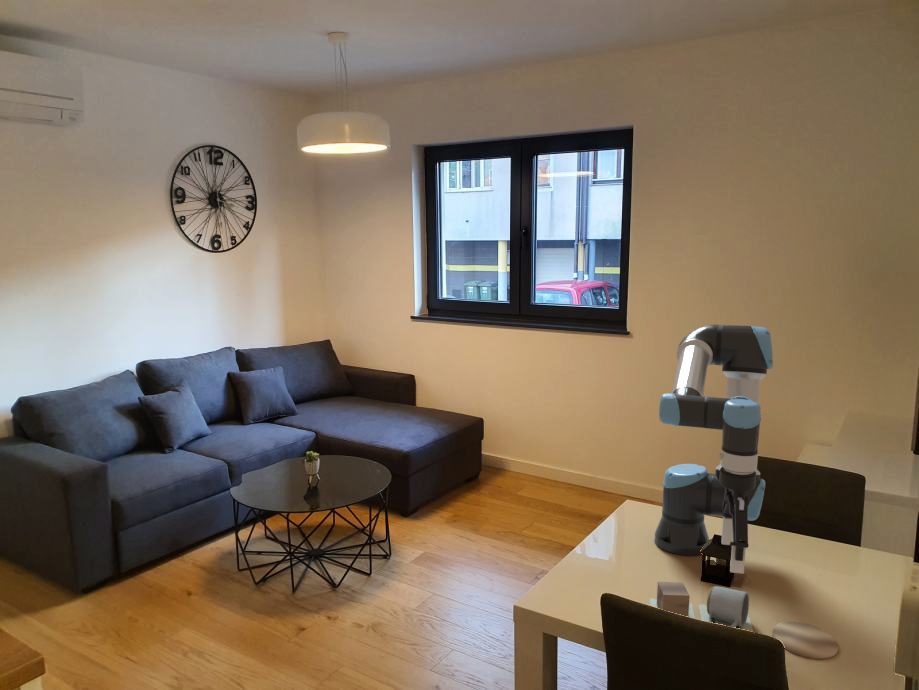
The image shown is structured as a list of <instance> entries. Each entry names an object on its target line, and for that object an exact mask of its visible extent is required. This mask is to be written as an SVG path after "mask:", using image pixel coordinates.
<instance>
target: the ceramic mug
mask: <svg viewBox="0 0 919 690" xmlns="http://www.w3.org/2000/svg"><path fill="white" fill-rule="evenodd" d="M706 605H707V612H708V614H709V622H711V623H712V621H711V619H712V617H713V618H716V619H719V620H722V621H725V622H728V623H730V624H732V625H731V626H729V627H736V626H739V627H743V626H744V625H745V623H746V620H747V616H749V609H750V608H749V606H750V596H749V593H748V592H747V591H744V590H743V591H741V590H737V589H734V588H728V587H724V586H717V585H716V586H712V587H711V588H710V589H709V591H708V594H707V599H706Z"/></svg>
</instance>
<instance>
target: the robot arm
mask: <svg viewBox="0 0 919 690" xmlns="http://www.w3.org/2000/svg"><path fill="white" fill-rule="evenodd" d="M773 357H774V355H773V344H772V335H771V332H770V330H769V328H767V327H765V326H754V325H734V324H733V325H731V324H729V325H728V324H726V325H725V324H715V323H714V324H713V323H712V324H707V325H702V326H700V327H698V328H695V329H694V330H692V331H691V332H689V333H688V334H686V336H685V337H683V338H682V340H681V341H680V342H679V344H678V347H677V349H676V359H677V361H678V363H677V368H676V371H675V372H676V373H675V376H674V381H673V386H672V389H671V393H668V392H667V393H663V394H661V396H660V399H659V409H658V411H659V413H658V417H659V418H658V419H659V421H660V423H662V424H666V425H672V426H675V427H678V426H679V427H688V428H689V427H690V428H691V427H692V428H700V429H701V428H702V429H707V430H708V429H709V430H719V431H722V432H721V433H722V434H721V435H722V436H721V440H722V441H721V452H720V453H718V456H717V457H718V458H720V463H719V464H718V465H717V466H715V473H711V472H708V469H707V468H706V467H705V466H703V465H700V464H697V463H696V464H695V463H680V464H675V465H673V466H669V468H667V469H666V470H665V472H664V476H663V482H662V487H663V489H662V491H663V492H662V494H663V495H662V506H661V507H662V509H661V511H662V512H661V518H660V519H659V523H658V525H657V527H656V530H655V533H654V543H655V545H656V546H657V547H659V548H660V549H662V550H663V551H665V552H668V553H671V554H675V555H681V556H690V557H691V556H699V555H701V554H700V550H701V549H702V547H703V546H704V544H705V543H706V542H708V541H709V542H710V538H709V534H708V532H707V526H706V524H705V515H706V516H707V515H709V516H713V517H714V516H715V517H721V518H722V524H721V525H722V527H721V529H722V530H721V545H726V546H731V554H730V555H731V556H730V566H729V572H730V573H734V574H745V565H746V564H745V561H746V549H748V548H749V527H748V526H749V525H748V523H749V521H756V520H757V519H758V518H759V516H760V513H761V509H762V506H763V500H764V496H765V488H766V481H765V480H764V479H763V478H761V472H760V471H759V469H758V460H759V449H758V448H759V438H760V430H761V429H760V427H761V420H762V414H761V410H762V409H761V405H760V391H761V390H760V389H761V382H762V379H763V378H765V377H766V376H767V374H768V373H767V372H768V370H772V369H773V367H774V360H773ZM710 365H713V366H721V367H722V370H721V373H722V374H723V375H724V377H726V392H725V393H726V394H725V398H724V397H712V396H704V393H705V385H706V379H707V374H708V373H707V372H708V367H709V366H710Z"/></svg>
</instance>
